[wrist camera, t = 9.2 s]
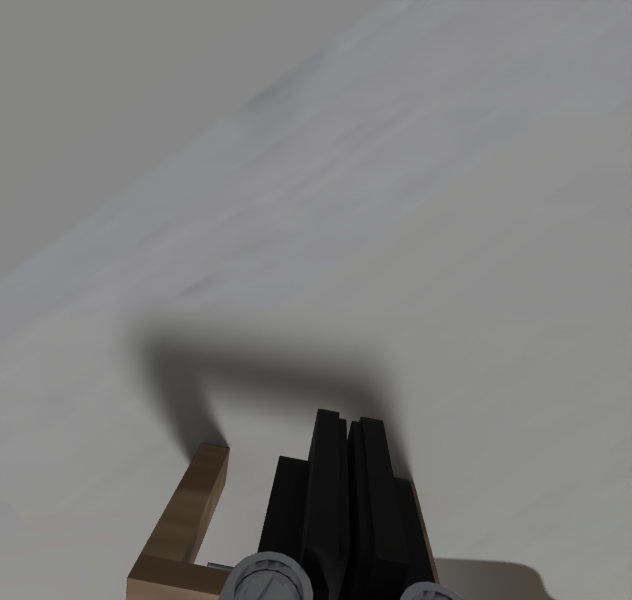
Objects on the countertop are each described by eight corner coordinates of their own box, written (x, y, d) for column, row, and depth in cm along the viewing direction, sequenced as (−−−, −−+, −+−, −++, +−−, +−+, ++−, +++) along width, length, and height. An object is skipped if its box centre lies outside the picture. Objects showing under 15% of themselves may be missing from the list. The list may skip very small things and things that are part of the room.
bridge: (201, 443, 27) (127, 577, 17) (414, 483, 26) (455, 641, 17) (197, 478, 27) (124, 625, 18) (404, 518, 27) (437, 686, 18)
